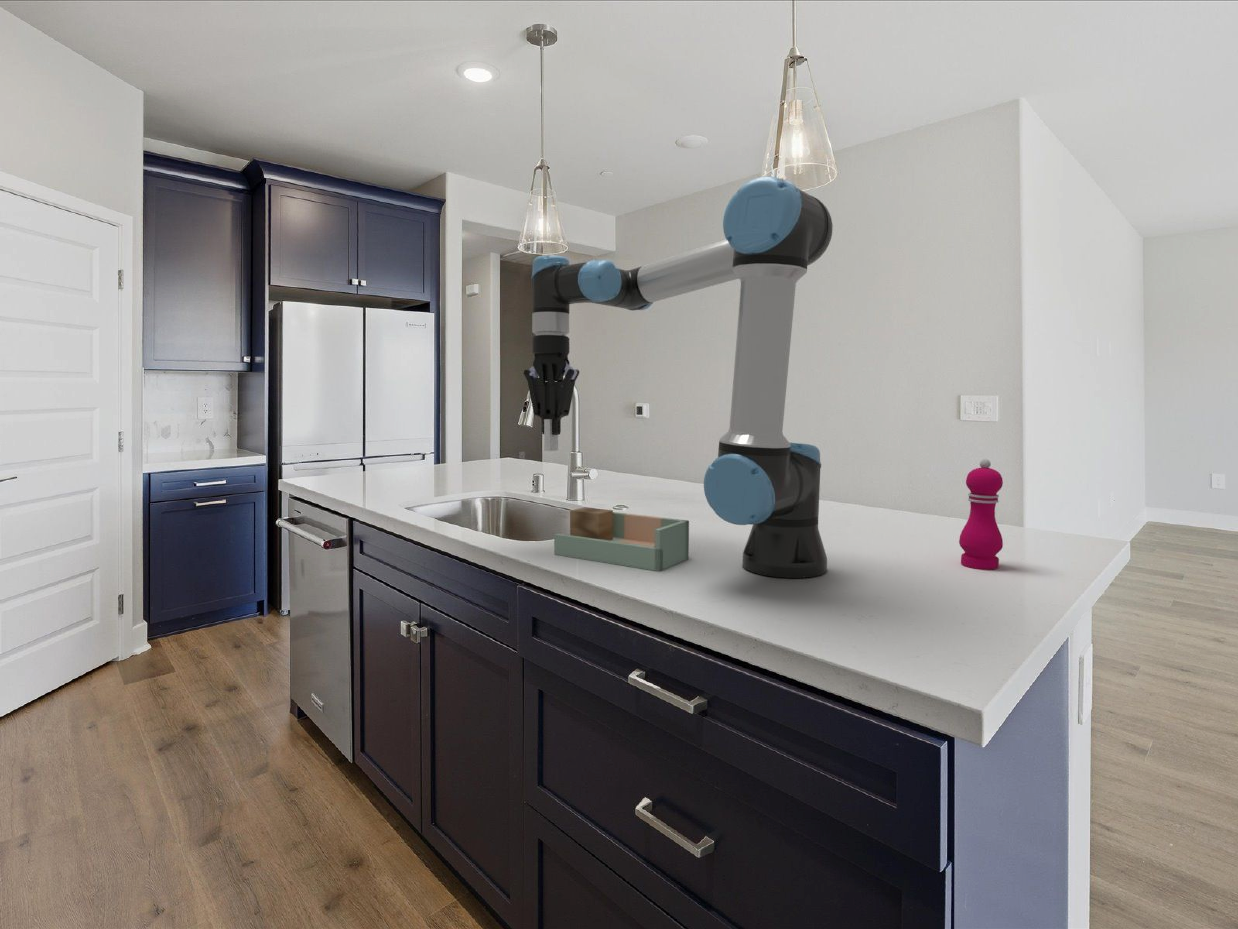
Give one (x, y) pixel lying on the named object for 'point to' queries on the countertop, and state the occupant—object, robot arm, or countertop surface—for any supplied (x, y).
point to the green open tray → (632, 543)
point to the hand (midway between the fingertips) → (551, 450)
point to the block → (592, 523)
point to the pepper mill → (982, 519)
